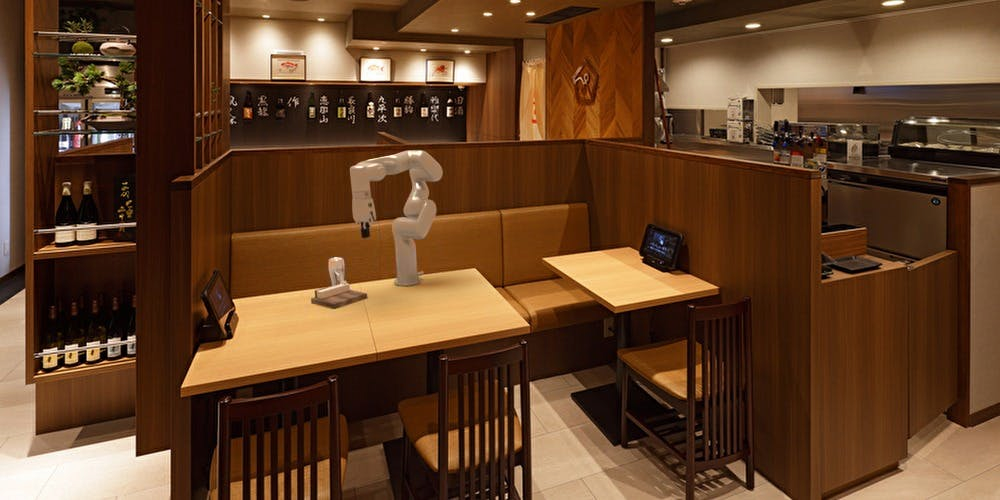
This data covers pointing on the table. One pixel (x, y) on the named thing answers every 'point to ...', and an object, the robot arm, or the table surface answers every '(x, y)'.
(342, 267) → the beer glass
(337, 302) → the brown rectangular tray
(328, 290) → the hinged leg
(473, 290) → the table surface
